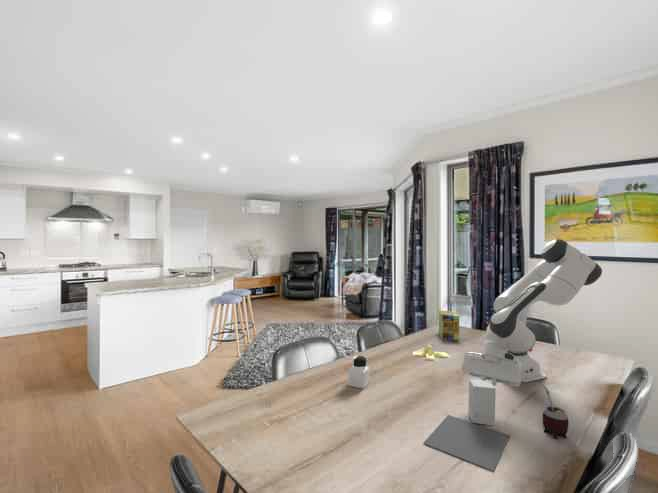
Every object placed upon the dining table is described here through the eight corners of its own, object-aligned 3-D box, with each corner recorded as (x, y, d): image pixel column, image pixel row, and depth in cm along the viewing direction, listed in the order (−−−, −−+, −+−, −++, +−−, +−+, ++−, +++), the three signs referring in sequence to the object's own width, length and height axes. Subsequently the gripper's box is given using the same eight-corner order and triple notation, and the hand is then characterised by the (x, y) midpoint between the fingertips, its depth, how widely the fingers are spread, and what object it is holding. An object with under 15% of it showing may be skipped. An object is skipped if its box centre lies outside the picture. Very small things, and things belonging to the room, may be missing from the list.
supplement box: (495, 426, 115) (496, 388, 115) (472, 423, 116) (473, 386, 116) (489, 415, 122) (490, 380, 122) (467, 413, 123) (468, 378, 123)
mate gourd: (568, 443, 106) (569, 395, 105) (539, 435, 110) (540, 389, 109) (567, 431, 112) (568, 386, 112) (539, 424, 116) (540, 381, 116)
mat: (448, 415, 122) (448, 414, 122) (510, 435, 109) (510, 435, 109) (423, 443, 104) (423, 442, 104) (493, 471, 92) (493, 470, 92)
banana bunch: (455, 357, 185) (455, 346, 185) (436, 365, 173) (436, 353, 173) (420, 347, 202) (421, 337, 202) (401, 353, 190) (401, 342, 190)
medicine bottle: (369, 382, 149) (369, 355, 149) (364, 389, 143) (364, 360, 143) (354, 379, 152) (354, 353, 152) (348, 386, 146) (348, 358, 146)
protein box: (442, 339, 217) (442, 315, 217) (438, 332, 233) (438, 310, 232) (459, 340, 216) (459, 315, 215) (454, 333, 231) (454, 311, 231)
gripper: (464, 346, 136) (455, 378, 128) (522, 358, 123) (516, 394, 116) (467, 355, 139) (459, 386, 132) (524, 366, 127) (518, 402, 119)
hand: (486, 390), depth 124 cm, fingers closed
